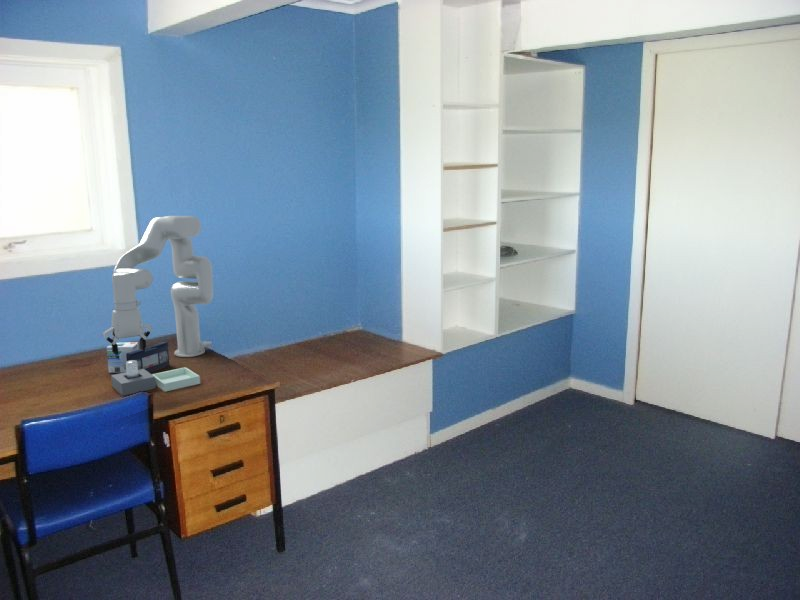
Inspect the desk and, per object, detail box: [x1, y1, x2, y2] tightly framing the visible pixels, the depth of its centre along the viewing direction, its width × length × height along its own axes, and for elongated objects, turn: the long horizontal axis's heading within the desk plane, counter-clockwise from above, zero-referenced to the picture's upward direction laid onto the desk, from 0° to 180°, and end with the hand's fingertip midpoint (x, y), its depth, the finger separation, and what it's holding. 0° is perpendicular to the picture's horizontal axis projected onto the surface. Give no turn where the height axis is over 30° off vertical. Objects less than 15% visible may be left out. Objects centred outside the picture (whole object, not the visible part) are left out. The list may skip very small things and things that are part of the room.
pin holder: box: [110, 369, 157, 396], centre depth 254 cm, size 12×12×4 cm
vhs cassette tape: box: [126, 341, 170, 374], centre depth 272 cm, size 18×3×10 cm, turn 147°
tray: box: [151, 367, 201, 392], centre depth 259 cm, size 14×14×3 cm
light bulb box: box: [106, 341, 140, 374], centre depth 273 cm, size 11×7×11 cm, turn 92°
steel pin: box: [126, 360, 139, 379], centre depth 253 cm, size 4×4×10 cm
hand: (129, 351), depth 251 cm, fingers open, 9 cm apart
